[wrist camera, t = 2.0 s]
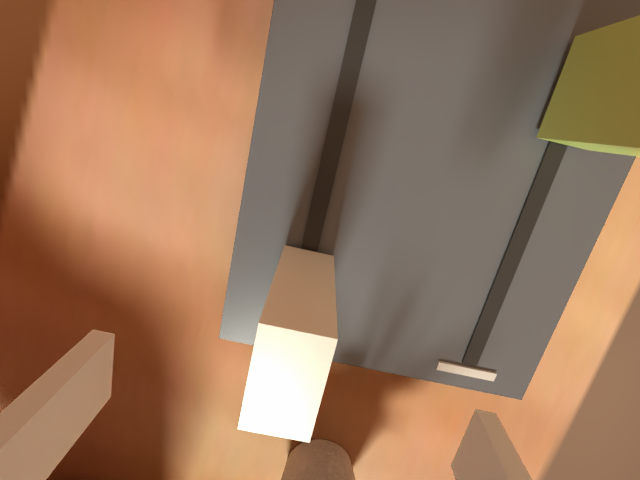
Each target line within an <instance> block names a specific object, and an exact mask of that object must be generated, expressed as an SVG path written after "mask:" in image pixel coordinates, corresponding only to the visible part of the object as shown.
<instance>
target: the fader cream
mask: <svg viewBox="0 0 640 480" xmlns="http://www.w3.org/2000/svg"><path fill="white" fill-rule="evenodd" d="M337 341H338V330H337V309H336V289H335V268H334V256H332V255H327V254H323V253H318V252H314V251H309V250H304V249H300V248H295V247H291V246H286V245H284V248H283V251H282V254H281V257H280V260H279V263H278V266H277V269H276V272H275V275H274V278H273V281H272V284H271V287H270V290H269V293H268V296H267V299H266V302H265V305H264V308H263V311H262V314H261V317H260V320H259V323H258V328H257V333H256V338H255V343H254V348H253V353H252V358H251V363H250V368H249V373H248V379H247V384H246V389H245V394H244V399H243V404H242V409H241V414H240V419H239V424H238V429H240V430H245V431H250V432H255V433H261V434H266V435H271V436H276V437H281V438H287V439H292V440H297V441H302V442H307V443H310V440H311V436H312V432H313V429H314V425H315V421H316V418H317V414H318V410H319V407H320V403H321V399H322V396H323V392H324V388H325V385H326V381H327V378H328V374H329V370H330V367H331V363H332V359H333V356H334V352H335V348H336V345H337Z"/></svg>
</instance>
